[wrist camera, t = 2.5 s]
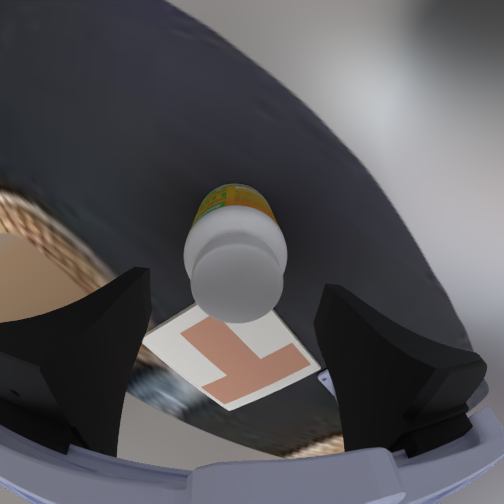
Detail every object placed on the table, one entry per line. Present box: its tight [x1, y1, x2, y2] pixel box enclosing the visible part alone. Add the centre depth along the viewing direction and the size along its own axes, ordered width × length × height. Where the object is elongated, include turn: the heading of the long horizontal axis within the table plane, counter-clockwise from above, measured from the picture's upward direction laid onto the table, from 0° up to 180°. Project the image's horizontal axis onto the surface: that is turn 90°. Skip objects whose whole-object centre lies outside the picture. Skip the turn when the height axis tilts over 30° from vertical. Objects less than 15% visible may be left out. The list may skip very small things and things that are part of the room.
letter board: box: [142, 302, 321, 411], centre depth 26 cm, size 14×12×1 cm
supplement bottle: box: [184, 184, 287, 323], centre depth 16 cm, size 5×5×10 cm
